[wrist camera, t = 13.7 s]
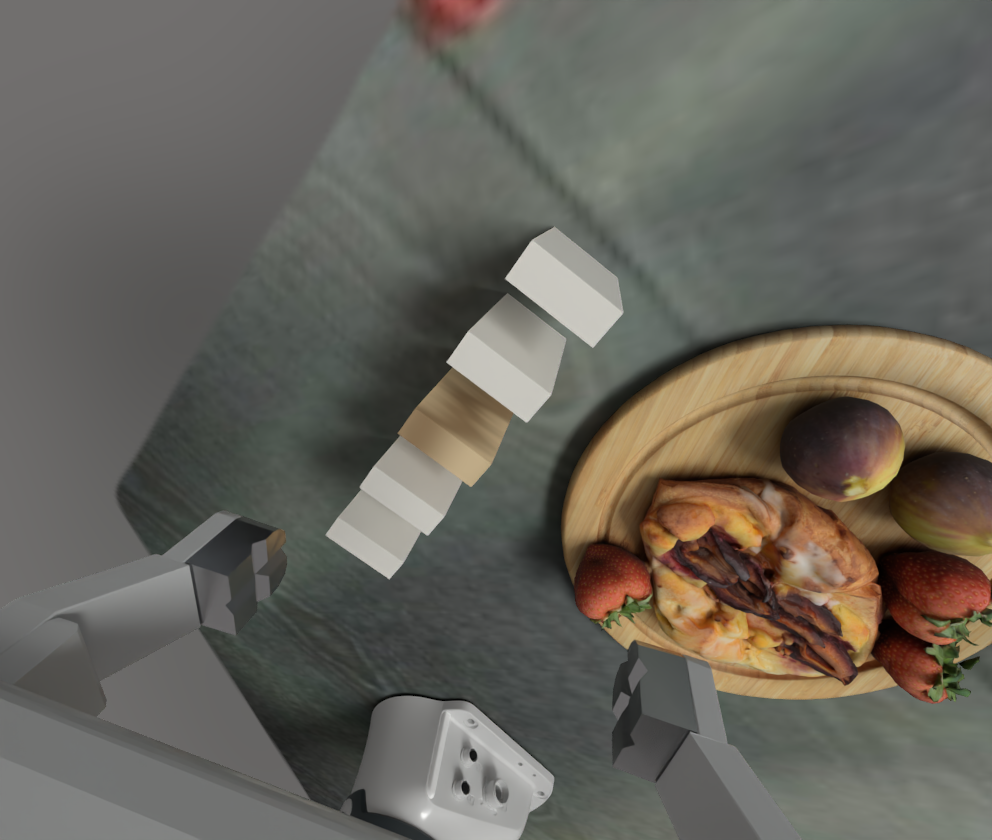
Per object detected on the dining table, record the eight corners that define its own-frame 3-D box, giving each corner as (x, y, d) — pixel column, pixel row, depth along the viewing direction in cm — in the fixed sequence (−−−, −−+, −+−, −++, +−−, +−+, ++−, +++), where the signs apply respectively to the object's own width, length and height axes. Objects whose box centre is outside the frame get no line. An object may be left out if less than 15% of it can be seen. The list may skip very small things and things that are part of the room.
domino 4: (484, 437, 36) (444, 516, 27) (470, 454, 37) (427, 535, 28) (431, 399, 35) (373, 465, 26) (418, 417, 36) (359, 487, 27)
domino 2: (566, 338, 31) (551, 394, 22) (548, 360, 32) (526, 422, 23) (507, 292, 31) (468, 331, 22) (490, 316, 32) (446, 362, 23)
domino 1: (617, 277, 29) (623, 312, 20) (596, 303, 30) (593, 347, 21) (554, 226, 28) (532, 239, 19) (535, 254, 29) (504, 278, 20)
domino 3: (521, 394, 34) (491, 464, 25) (505, 413, 34) (471, 487, 26) (466, 352, 33) (415, 407, 24) (451, 372, 34) (397, 433, 25)
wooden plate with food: (550, 641, 44) (541, 730, 37) (580, 306, 30) (576, 342, 23) (930, 706, 39) (1007, 824, 32) (1185, 336, 25) (1432, 397, 17)
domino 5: (450, 478, 38) (403, 562, 29) (438, 492, 39) (389, 579, 30) (400, 442, 38) (338, 517, 29) (389, 458, 38) (325, 535, 30)
